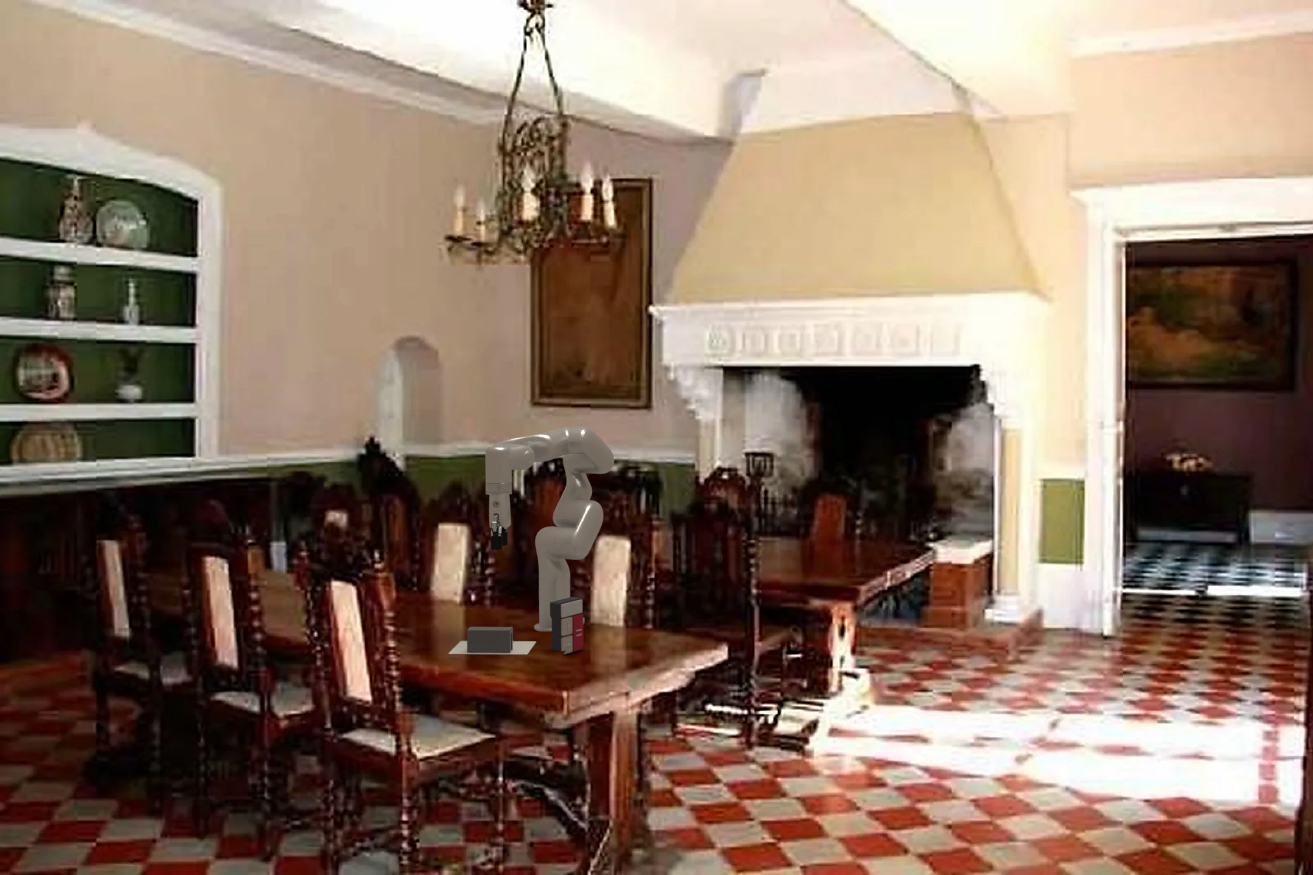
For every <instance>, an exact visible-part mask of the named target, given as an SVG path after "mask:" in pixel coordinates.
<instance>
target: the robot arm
mask: <svg viewBox="0 0 1313 875" xmlns="http://www.w3.org/2000/svg"><path fill="white" fill-rule="evenodd" d="M484 456H485V495H489V499H488V500H489V501H488V503H489V504H488V505H489V506H488V508H489V509H488V513H489V514H488V517H489V518H488V520H489V528H491V530H490V531H491V532H490V550H492V551H501V550H503V547H506V546H508V540H509V539H508V528H509V527H510V526H511V525H512V520H511V501H510V495H512V493H513V475H512V474H513V471H524V470H528V469H529V468H531V467H532V466H533V465H534V463H540V462H541V463H542V462H549V461H551V460H553V459H557V458H559V457H562V456H563V457H562V462H563V467H564V471H565V476H566V484H565V485H566V486H565V489H564V491H563V492H562V494H561V497H560V498H559V501H558V502H557V505H556V506H555V509H554V511H553V514H552V521H553V523H554V525H555V526H546V527H543V528H541V529H540V530H539V531H538V532H537V534H536V536H535V539H534V540H535V549H536V550H535V551H536V555H537V561H538V562H537V563H538V584H539V585H538V602H539V604H538V605H539V606H538V610H539V611H538V612H539V613H538V615H539V617H538V618H539V619H538V620H539V621H538V623H535V624H534V625H533V626H534V628H533V629H534V630H535V631H536V632H552V618H551V616H550V602H553V601H557V600H561V599H565V598H569V597H571V573H570V572H571V571H570V567H569V565H568V563H567V561H566V560H583V559H585V558H586V557H587V556H588V554H589V552H590V551H591V549H592V547H593V544H594V542H595V540H596V539H597V536H598V534H599V532H600V530H601V527H602V525H603V521H604V510H603V508H602V506H601V504H600V503H599V502H597V501H595V500H591V497H592V495H593V494H592V493H593V489H592V486H591V483H590V481H589V479H588V476H587V474H597V475H601V474H602V475H603V474H607V473H609V472H610V471H612V469H613V467H614V464H615V458H614V454H613V452H612V449H611V448H610V447H609V445H607V443H606V442H605V441H604V440H603V439H602V438H601V437H600V436H599V435H598V434H597V433H596V432H595V431H593V429H591V428H590V427H585V426H562V427H558V428H555V429H552V430H548V431H544V432H542V433H538V434H532V435H527V436H522V437H517V438H512V439H506V440H503V441H502V440H501V441H500V442H497V443H494V444H493V445H491V446H488V447H486V449H485V455H484ZM585 622H586V621H585V617H583V625H584V624H585Z"/></svg>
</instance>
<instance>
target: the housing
mask: <svg viewBox="0 0 1313 875" xmlns="http://www.w3.org/2000/svg"><path fill="white" fill-rule="evenodd" d="M513 632H514V629H513V627H512V626H470V627H468V629H467V630H466V641H467V652H490V653H510V652H511V650H513V641H514V633H513Z"/></svg>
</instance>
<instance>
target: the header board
mask: <svg viewBox="0 0 1313 875" xmlns="http://www.w3.org/2000/svg"><path fill="white" fill-rule="evenodd" d="M536 643H537V641H532V640H531V641H527V640H526V641H525V640H523V641H522V640H521V641H520V640H518V641H517V640H516V641H515V640H513V650H511V652H510V653H490V652H467V640H460V641H459V642H458V643H457V644H456V645H455V646H453V648H452V649H451V650H450V651H449V652H448V655H528V654H529V653H530V651H531V650H532V648H533V647H534V646H535V644H536ZM508 659H509V658H504V660H508ZM522 659H523V660H527V661H528V658H522ZM448 660H461V658H455V657H454V658H450V657H449V658H448ZM508 661H509V660H508Z"/></svg>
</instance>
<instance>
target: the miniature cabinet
mask: <svg viewBox="0 0 1313 875" xmlns="http://www.w3.org/2000/svg"><path fill="white" fill-rule="evenodd" d="M550 616H551V618H552V631H551V650H552V651H556V652H564V653H563V656H566V655H569V654H573V653H575V652H579V651H582V650H583V649H584V624H583V618H584V614H583V598H582V597H577V596H576V597H575V596H570V597H569V598H565V599H561V600H557V601H553V602H550Z"/></svg>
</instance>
